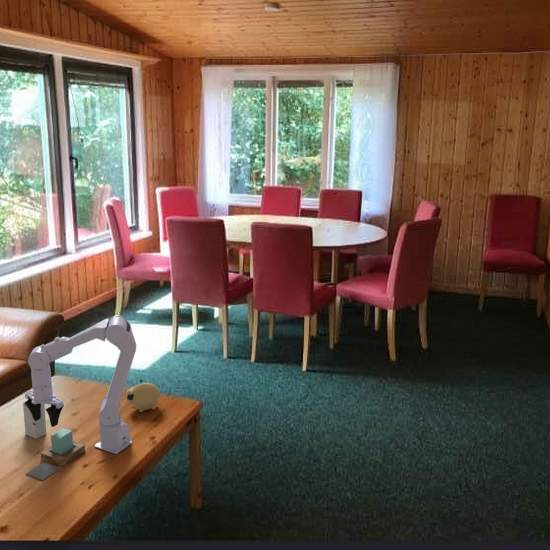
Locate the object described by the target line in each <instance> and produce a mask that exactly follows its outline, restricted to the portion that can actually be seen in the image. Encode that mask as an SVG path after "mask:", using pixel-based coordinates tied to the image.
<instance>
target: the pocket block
mask: <svg viewBox="0 0 550 550" xmlns="http://www.w3.org/2000/svg"><path fill="white" fill-rule="evenodd" d="M84 452H86V446H85V444H83V443H79V442H78V441H75V440H73V449H72V450H70V451H69V452H67V453H66V454H64V455H63V456H59V455H57V454H54V453H52V445H50V446H49V447H48V448H46V449H45V450H42V451H41V452H40V459H41V460H43V461H44V462H47V463H49V464H52V465H55V466H56V465H57V467H60V468H61V467H64V466H65V465H67V464H69V463H70V462H71V461H72V460H74V459H77V457H79V456H80V455H81V454H83V453H84Z"/></svg>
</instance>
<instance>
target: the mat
mask: <svg viewBox="0 0 550 550" xmlns="http://www.w3.org/2000/svg"><path fill="white" fill-rule="evenodd" d="M60 470H61V466H58V465H57V466H56V465H55V464H53V463H50V462H47V461H43V462H40V464H38V465H36V466H35V467H34V468H32V469H30V470H29V471H27V472H26V473H25V474H26V475H27V476H29V477H31V478H34V479H37V480H40V481H41V480H42V482H43V480H44V481H45V480H47V479H48V478H49V477H51V476H53V475H54V474H56V473H57V472H58V471H60Z"/></svg>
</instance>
